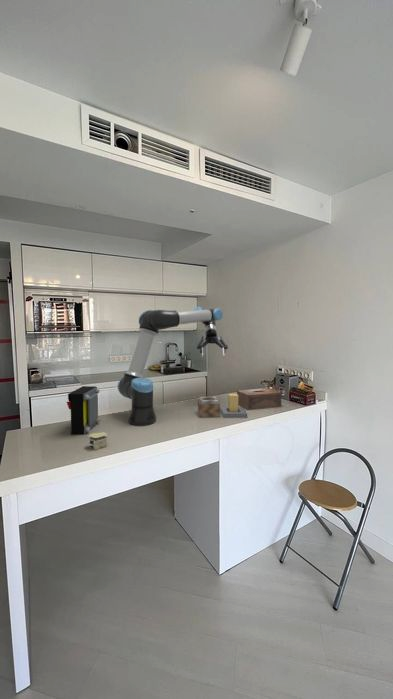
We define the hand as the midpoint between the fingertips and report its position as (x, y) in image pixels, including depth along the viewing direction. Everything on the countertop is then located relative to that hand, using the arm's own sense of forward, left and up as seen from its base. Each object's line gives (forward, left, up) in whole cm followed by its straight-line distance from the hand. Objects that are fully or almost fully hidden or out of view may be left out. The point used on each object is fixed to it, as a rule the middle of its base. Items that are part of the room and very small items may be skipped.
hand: (213, 356), depth 186 cm
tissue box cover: (+32, +5, -34) cm, 47 cm away
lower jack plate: (+11, -14, -34) cm, 38 cm away
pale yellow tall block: (+11, -14, -34) cm, 38 cm away
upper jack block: (-4, -14, -34) cm, 37 cm away
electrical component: (-70, -36, -34) cm, 86 cm away
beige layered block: (-57, -59, -34) cm, 89 cm away
